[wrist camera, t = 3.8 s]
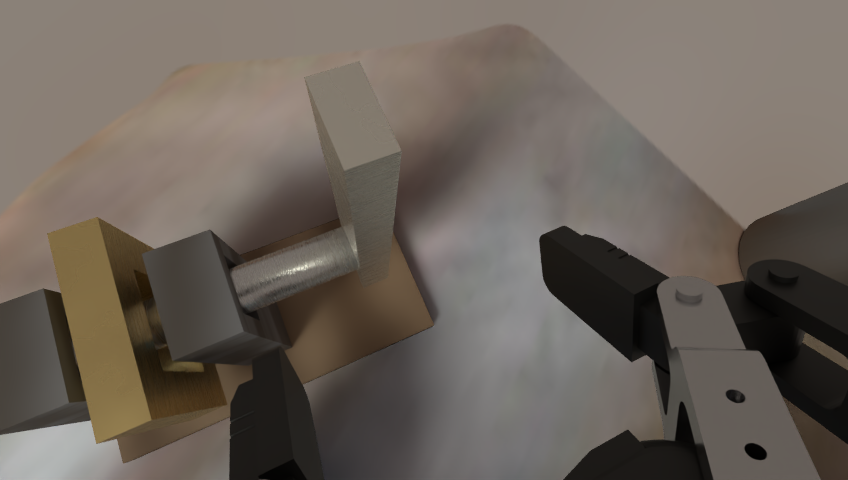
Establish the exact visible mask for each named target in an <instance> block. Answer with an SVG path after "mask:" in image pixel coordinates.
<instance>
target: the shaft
mask: <svg viewBox="0 0 848 480" xmlns="http://www.w3.org/2000/svg"><path fill="white" fill-rule="evenodd" d="M304 78H305V82H306V86H307V90H308V94H309V98H310V102H311V106H312V111H313V115H314V119H315V123H316V127H317V131H318V135H319V139H320V143H321V147H322V151H323V155H324V159H325V163H326V167H327V171H328V175H329V179H330V183H331V187H332V191H333V195H334V199H335V204H336V208H337V212H338V216H339V220H340V224H341V227H340V228H337V229H334V230H332V231H329V232H326V233H324V234H321V235H318V236H316V237H313V238H310V239H308V240H305V241H302V242H300V243H297V244H294V245H292V246H289V247H286V248H284V249H281V250H278V251H276V252H273V253H270V254H268V255H265V256H262V257H260V258H257V259H254V260H252V261H249V262H246V263H244V264H241V265H238V266H236V267H233V268H230V269H229V272H230V275H231V278H232V281H233V284H234V287H235V290H236V293H237V296H238V299H239V302H240V305H241V308H242V311H243V313H244V314H248V313H250V312H253V311H255V310H258V309H260V308H263V307H265V306H268V305H270V304H273V303H275V302H278V301H280V300H283V299H285V298H288V297H290V296H293V295H295V294H298V293H300V292H303V291H305V290H308V289H310V288H313V287H315V286H318V285H320V284H323V283H325V282H328V281H330V280H333V279H335V278H338V277H340V276H343V275H345V274H348V273H350V272H353V271H355V270H356V271H357V273H358V276H359V278H360V281H361V283H362V285H363V288H365V287H367V286H370V285H372V284H374V283H377V282H379V281H382V280H384V279H387V278H388V273H389V264H390V254H391V245H392V235H393V226H394V217H395V207H396V198H397V188H398V179H399V169H400V160H401V149H400V147H399V144H398V142H397V140H396V138H395V136H394V134H393V132H392V130H391V127H390V125H389V123H388V121H387V119H386V117H385V115H384V112H383V110H382V108H381V106H380V104H379V102H378V100H377V98H376V95H375V93H374V91H373V89H372V87H371V85H370V83H369V81H368V78H367V76H366V74H365V72H364V70H363V68H362V66H361V64H360V61H358V62H355V63H351V64H348V65H345V66H341V67H338V68H334V69H331V70H328V71H324V72H321V73H317V74H314V75H311V76H307V77H304ZM143 305H144V308H145V312H146V316H147V319H148V323H149V326H150V330H151V333H152V337H153V340H154V344H155V348H156V350H158V349H160V348H163V347H165V346H168V344H167V341H166V337H165V334H164V330H163V327H162V323H161V320H160V316H159V313H158V309H157V306H156V302H155V299H154V297H153V298H150V299H148V300H145V301H143ZM68 331H69V335H70V339H71V343H72V348H73V352H74V356H75V361H76V365H77V369H78V373H79V378H80V379H81V376H80V371H79V367H78V363H77V358H76V354H75V350H74V346H73V341H72V337H71V333H70V329H68Z"/></svg>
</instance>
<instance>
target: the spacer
mask: <svg viewBox="0 0 848 480" xmlns="http://www.w3.org/2000/svg"><path fill="white" fill-rule="evenodd" d="M47 235H48V239H49V243H50V248H51V252H52V256H53V260H54V265H55V269H56V273H57V277H58V282H59V286H60V290H61V294H62V299H63V303H64V307H65V312H66V316H67V320H68V324H69V329H70V333H71V337H72V341H73V346H74V350H75V354H76V358H77V363H78V367H79V371H80V376H81V380H82V384H83V388H84V393H85V397H86V401H87V405H88V410H89V414H90V418H91V422H92V427H93V431H94V435H95V440H96V444H98V443H102V442H106V441H110V440H114V439H118V438H122V437H126V436H130V435H134V434H138V433H142V432H146V431H150V430H155V429H159V428H163V427H167V426H171V425H175V424H179V423H183V422H187V421H191V420H194V419H196V418H199V417H201V416H203V415H205V414H208V413H210V412H212V411H214V410H217V409H219V408H221V407H224V406H226V405H228V404H227V401H226V398H225V394H224V391H223V388H222V385H221V381H220V378H219V375H218V372H217V369H216V365H215V364H214V363H199V362H184V361H172V358H171V354H170V351H169V347H168V346H165V347H163V348H160V349H158V350H157V351H156V348H155V344H154V340H153V337H152V333H151V330H150V326H149V323H148V319H147V316H146V312H145V308H144V305H143V301H145V300H148V299H150V298H153V297H154V295H153V292H152V288H151V285H150V281H149V278H148V274H147V271H146V267H145V264H144V260H143V257H142V254H143V253H145V252H148V251H151V250H154V249H153V248H152V247H150V246H148V245H146V244H144V243H143V242H141V241H139V240H137V239H136V238H134V237H132V236H130V235H128V234H127V233H125V232H123V231H121V230H120V229H118V228H116V227H114V226H112V225H111V224H109V223H107V222H105V221H104V220H102V219H100V218H98V217H96V218H93V219H90V220H87V221H84V222H81V223H78V224H75V225H72V226H69V227H66V228H63V229H60V230H57V231H54V232H51V233H47ZM157 352H158V355H157ZM158 356H159V358H158ZM159 360H160V362H159ZM160 363H161V365H160ZM161 367H162V369H161ZM162 370H163V371H162Z"/></svg>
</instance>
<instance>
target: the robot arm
mask: <svg viewBox="0 0 848 480" xmlns="http://www.w3.org/2000/svg"><path fill="white" fill-rule="evenodd" d="M539 242H540V253H541V263H542V273H543V279H544V282H545V284H546V286H547V288H548V290H549V291H550V292H551V293H552V294H553V295H554V296H555V297H556V298H557V299H558V300H560V301H561V302H562V303H563V304H564V305H565V306H567V307H568V308H569V309H570V310H571V311H572V312H574V313H575V314H576V315H577V316H578V317H579V318H581V319H582V320H583V321H584V322H585V323H586V324H588V325H589V326H590V327H591V328H592V329H593V330H595V331H596V332H597V333H598V334H599V335H600V336H602V337H603V338H604V339H605V340H606V341H607V342H609V343H610V344H611V345H612V346H613V347H614V348H616V349H617V350H618V351H619V352H620V353H621V354H623V355H624V356H625V357H626V358H627V359H628V360H630V361H631V362H633V361H635V360H637V359H639V358H641V357H643V356H645V355H647V356H649V357H650V358H651V359H652V372H653V377H654V382H655V387H656V392H657V397H658V402H659V408H660V413H661V418H662V423H663V430H664V440H647V441H641V442H639V441H638V440H637V438H636V437H635V436H634V435H633V434H632V433H631V432H630V431H629V430H626V431H624V432H623V433H621V434H619V435H617V436H616V437H614V438H612V439H610V440H609V441H607V442H605V443H603V444H601V445H600V446H598V447H596V448H594V449H593V450H591V451H590V452H589V453H588V454H587V455H586V456H585V457H584V458H583V459H582V460H581V461H580V462H579V463H578V465H577V466H576V467H575V468H574V469H573V470H572V471H571V472H570V473H569V474H568V475H567V476H566V477H565V478H564V479H563V480H821V479H820V477H819V475H818V473H817V471H816V468H815V466H814V464H813V462H812V460H811V458H810V456H809V453H808V451H807V449H806V447H805V445H804V443H803V440H802V438H801V436H800V434H799V432H798V430H797V428H796V425H795V423H794V421H793V419H792V417H791V415H790V413H789V410H788V408H787V406H786V404H785V402H784V400H783V398H782V396H783V397H784V398H786V399H787V400H788V401H790V402H791V403H793V404H794V405H795V406H797V407H798V408H799V409H801V410H802V411H803V412H805V413H806V414H807V415H809V416H810V417H811V418H813V419H814V420H816V421H817V422H818V423H820V424H821V425H822V426H824V427H825V428H826V429H828V430H829V431H830V432H832V433H833V434H834V435H836V436H837V437H839V438H840V439H841V440H843V441H844V442H845V443H847V444H848V370H846V369H844V368H843V367H841V366H839V365H838V364H836V363H834V362H833V361H831V360H830V359H828V358H826V357H825V356H823V355H821V354H820V353H818V352H817V351H815V350H813V349H812V348H810V347H808V346H807V345H805V344H803V343H802V341H803V338H804V335H805V332H806V333H808V334H810V335H811V336H813V337H815V338H816V339H818V340H820V341H821V342H823V343H825V344H826V345H828V346H830V347H832V348H833V349H835V350H837V351H838V352H840V353H841V354H843V355H844V356H845V357H846V358H847V359H848V183H845V184H843V185H840V186H838V187H836V188H834V189H831V190H828V191H826V192H824V193H821V194H818V195H816V196H814V197H811V198H809V199H806V200H804V201H801V202H798V203H796V204H794V205H791V206H789V207H786V208H784V209H781V210H779V211H777V212H774V213H772V214H770V215H767V216H765V217H762V218H760V219H758V220H756V221H754V222H753V223H752V224H750V225H749V227H748V228H747V229H746V230H745V232H744V233H743V236H742V238H741V241H740V246H739V262H740V266H741V270H742V274H743V276H744V278H745V281H740V282H735V283H730V284H724V285H719V286H715V285H714V284H712V283H710V282H708V281H706V280H703V279H700V278H696V277H690V276H677V277H672V278H669V277H667V276H666V275H664V274H662V273H661V272H659V271H657V270H655V269H654V268H652V267H650V266H649V265H647V264H645V263H644V262H642V261H640V260H638V259H637V258H635V257H633V256H632V255H628V253H626V252H625V251H623V250H621V249H620V248H619V249H617V247H616V246H615V245H613V244H611V243H609V242H608V241H606V240H604V239H602V238H598V237H594V236H591V235H587V234H585V235H582V236H581V235H580V234H578V233H577V232H575V231H573V230H572V229H570V228H568V227H567V226H562V227H559V228H557V229H555V230H552V231H550V232H547V233H545V234H543V235H541V237H540V240H539ZM252 373H253V379H251V380H249V381H247V382H244V383H242V384H240V385H239V386H238V388H237V390H236V392H235V394H234V397H233V399H232V401H231V403H230V421H231V424H230V436H231V439H230V474H229V480H324V475H323V470H322V465H321V459H320V454H319V449H318V444H317V439H316V434H315V429H314V424H313V419H312V413H311V408H310V404H309V400H308V397H307V394H306V392H305V389H304V387H303V385H302V383H301V381H300V379H299V377H298V375H297V374H296V372H295V370H294V368H293V366H292V364H291V362H290V361H289V359H288V357H287V355H286V353H285V351H284V350H283V348H282V347H281V346H279V347H276V348H274V349H272V350H269V351H267V352H265V353H262V354H260V355H258V356H255V357H253V358H252Z"/></svg>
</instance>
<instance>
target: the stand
mask: <svg viewBox="0 0 848 480" xmlns="http://www.w3.org/2000/svg"><path fill="white" fill-rule="evenodd" d="M340 227H341V224H340V220H339V219H336V220H334V221H331V222H328V223H326V224H323V225H320V226H317V227H315V228H312V229H309V230H307V231H304V232H301V233H299V234H296V235H293V236H290V237H288V238H285V239H282V240H280V241H277V242H274V243H272V244H269V245H266V246H264V247H261V248H258V249H255V250H253V251H250V252H247V253H245V254H242V255H239V254H238V253H236V252H235V251H234V250H233V249H232V248H231V247H229V246H228V245H227V244H226V243H225V242H224V241H222V240H221V239H220V238H219V237H218V236H217V235H215V234H214V233H213V232H212V231H211V230H208V231H205V232H202V233H199V234H196V235H194V236H191V237H188V238H185V239H182V240H179V241H177V242H174V243H171V244H168V245H165V246H162V247H160V248H157V249H154V250H151V251H148V252H145V253H143V254H142V257H143V260H144V264H145V267H146V271H147V274H148V278H149V281H150V285H151V288H152V292H153V295H154V299H155V302H156V306H157V309H158V313H159V316H160V320H161V323H162V327H163V330H164V334H165V337H166V341H167V344H168V347H169V351H170V354H171V358H172V361H184V362H199V363H214V364H215V365H216V369H217V372H218V375H219V378H220V381H221V385H222V388H223V391H224V394H225V398H226V401H227V404H228V405H226V406H224V407H221V408H219V409H217V410H214V411H212V412H210V413H208V414H205V415H203V416H201V417H199V418H196V419H194V420H191V421H187V422H183V423H179V424H175V425H171V426H167V427H163V428H159V429H155V430H150V431H146V432H142V433H138V434H134V435H130V436H126V437H122V438H118V439H117V440H118V445H119V449H120V453H121V457H122V461H123V463H126V462H129V461H132V460H135V459H137V458H139V457H141V456H144V455H146V454H148V453H150V452H153V451H155V450H157V449H159V448H161V447H164V446H166V445H168V444H170V443H173V442H175V441H177V440H179V439H182V438H184V437H186V436H188V435H191V434H193V433H195V432H197V431H200V430H202V429H204V428H206V427H209V426H211V425H213V424H215V423H217V422H220V421H222V420H224V419H226V418H229V417H230V403H231V401H232V399H233V397H234V394H235V392H236V390H237V388H238V386H239V385H240V384H242V383H244V382H247V381H249V380H251V379H253V373H252V358H253V357H255V356H258V355H260V354H262V353H265V352H267V351H269V350H272V349H274V348H276V347H279V346H281V347H282V348H283V350H284V351H285V353H286V355H287V357H288V359H289V361H290V362H291V364H292V366H293V368H294V370H295V372H296V374H297V375H298V377H299V379H300V381H301V383H302V385H303V384H305V383H307V382H309V381H312V380H314V379H316V378H318V377H321V376H323V375H325V374H327V373H330V372H332V371H334V370H336V369H339V368H341V367H343V366H345V365H347V364H350V363H352V362H354V361H356V360H359V359H361V358H363V357H365V356H368V355H370V354H372V353H374V352H377V351H379V350H381V349H383V348H386V347H388V346H390V345H392V344H395V343H397V342H399V341H401V340H404V339H406V338H408V337H410V336H412V335H415V334H417V333H419V332H421V331H424V330H426V329H428V328H430V327H432V326H434V323H433V321H432V319H431V317H430V314H429V312H428V310H427V308H426V305H425V303H424V301H423V299H422V296H421V294H420V292H419V289H418V287H417V285H416V283H415V280H414V278H413V276H412V274H411V271H410V269H409V267H408V265H407V262H406V260H405V258H404V256H403V253H402V251H401V249H400V246H399V244H398V242H397V240H396V237H395V235H394V233H393V235H392V245H391V254H390V264H389V273H388V278H387V279H384V280H382V281H379V282H377V283H374V284H372V285H370V286H367V287H365V288H363V285H362V283H361V281H360V278H359V276H358V273H357V271H356V270H355V271H353V272H350V273H348V274H345V275H343V276H340V277H338V278H335V279H333V280H330V281H328V282H325V283H323V284H320V285H318V286H315V287H313V288H310V289H308V290H305V291H303V292H300V293H298V294H295V295H293V296H290V297H288V298H285V299H283V300H280V301H278V302H275V303H273V304H270V305H268V306H265V307H263V308H260V309H258V310H255V311H253V312H250V313H248V314H244V313H243V311H242V308H241V305H240V302H239V299H238V296H237V293H236V290H235V287H234V284H233V281H232V278H231V275H230V272H229V269H230V268H233V267H236V266H238V265H241V264H244V263H246V262H249V261H252V260H254V259H257V258H260V257H262V256H265V255H268V254H270V253H273V252H276V251H278V250H281V249H284V248H286V247H289V246H292V245H294V244H297V243H300V242H302V241H305V240H308V239H310V238H313V237H316V236H318V235H321V234H324V233H326V232H329V231H332V230H334V229H337V228H340ZM68 329H69V324H68V320H67V316H66V312H65V307H64V303H63V299H62V294H61V293H59V292H55V291H51V290H47V289H41V290H38V291H35V292H32V293H29V294H27V295H24V296H21V297H18V298H15V299H12V300H10V301H7V302H4V303H1V304H0V435H2V434H8V433H14V432H21V431H27V430H33V429H39V428H46V427H52V426H58V425H64V424H71V423H77V422H83V421H89V420H91V418H90V414H89V410H88V405H87V401H86V397H85V393H84V388H83V384H82V380H81V379H80V378H79V373H78V369H77V365H76V361H75V356H74V352H73V348H72V343H71V339H70V335H69V331H68ZM156 351H157V350H156ZM157 355H158V352H157ZM158 358H159V356H158ZM159 362H160V360H159ZM160 365H161V363H160ZM161 369H162V367H161ZM162 371H163V370H162Z"/></svg>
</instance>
